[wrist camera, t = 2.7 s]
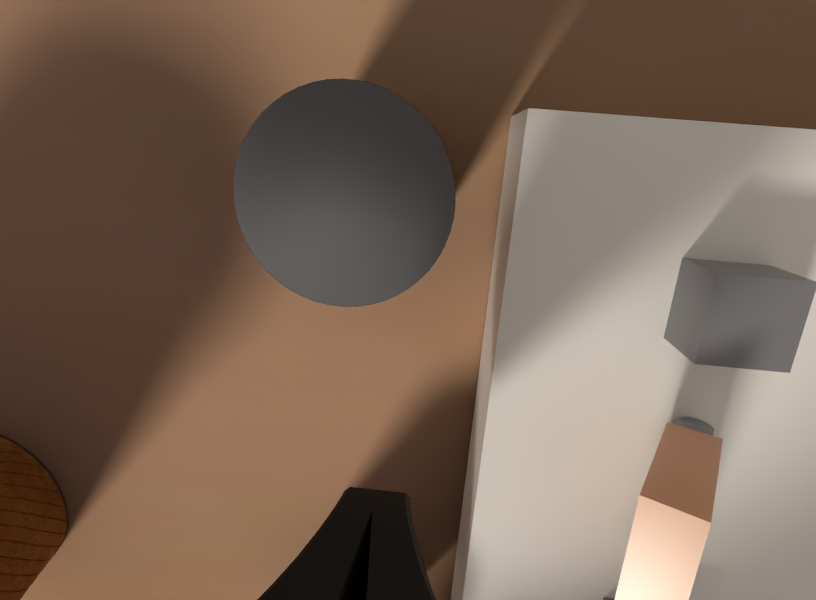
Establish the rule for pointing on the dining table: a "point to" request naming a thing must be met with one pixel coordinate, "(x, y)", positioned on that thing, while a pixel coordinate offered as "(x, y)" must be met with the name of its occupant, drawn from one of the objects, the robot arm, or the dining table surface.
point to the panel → (644, 353)
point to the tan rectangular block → (672, 514)
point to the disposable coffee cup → (26, 519)
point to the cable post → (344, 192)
